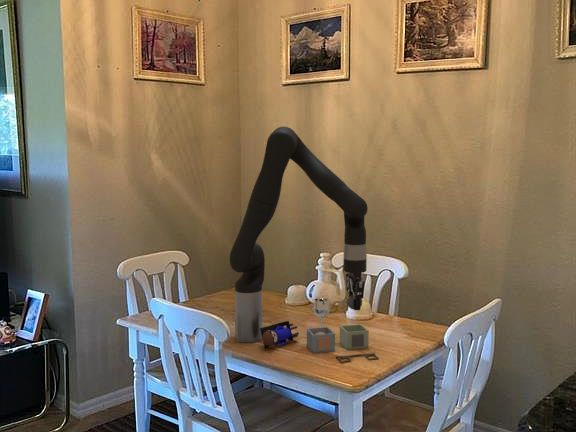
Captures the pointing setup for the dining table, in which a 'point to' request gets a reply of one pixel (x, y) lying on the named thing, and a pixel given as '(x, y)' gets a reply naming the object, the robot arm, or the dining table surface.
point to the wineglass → (321, 308)
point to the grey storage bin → (320, 340)
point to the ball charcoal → (351, 302)
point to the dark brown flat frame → (356, 356)
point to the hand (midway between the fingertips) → (354, 307)
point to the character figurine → (278, 334)
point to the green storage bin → (354, 337)
